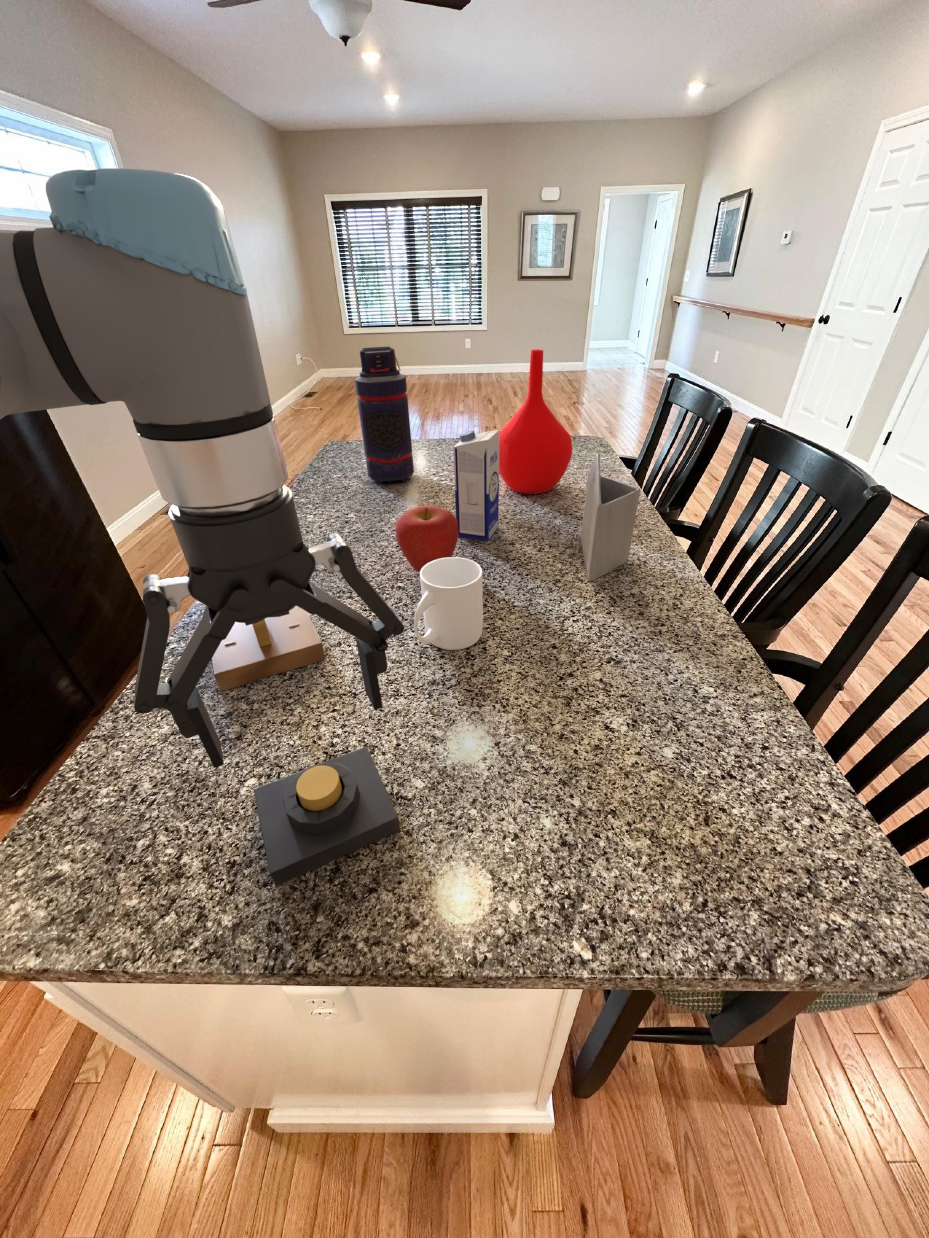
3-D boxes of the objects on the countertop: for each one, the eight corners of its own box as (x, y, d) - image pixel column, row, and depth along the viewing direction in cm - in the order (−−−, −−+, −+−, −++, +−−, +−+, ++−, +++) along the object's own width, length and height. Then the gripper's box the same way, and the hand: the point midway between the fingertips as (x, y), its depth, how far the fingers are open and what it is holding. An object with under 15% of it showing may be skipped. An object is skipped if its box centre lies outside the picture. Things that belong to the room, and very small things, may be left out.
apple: (400, 558, 97) (393, 497, 90) (457, 554, 97) (454, 493, 90) (400, 589, 88) (392, 524, 81) (462, 584, 88) (460, 519, 81)
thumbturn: (271, 644, 71) (256, 593, 66) (259, 647, 70) (243, 596, 66) (265, 621, 75) (250, 573, 71) (254, 624, 75) (238, 575, 70)
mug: (396, 647, 74) (388, 584, 68) (452, 611, 82) (449, 551, 75) (439, 672, 70) (434, 606, 63) (494, 631, 77) (495, 569, 71)
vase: (571, 476, 130) (583, 344, 113) (566, 503, 116) (579, 357, 99) (500, 472, 134) (501, 344, 117) (486, 498, 120) (486, 356, 103)
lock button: (304, 818, 48) (300, 806, 47) (296, 786, 51) (292, 774, 50) (346, 801, 49) (343, 789, 48) (335, 770, 52) (332, 759, 51)
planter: (635, 582, 87) (657, 470, 76) (588, 581, 88) (602, 470, 77) (621, 540, 100) (637, 439, 89) (580, 539, 101) (591, 439, 90)
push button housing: (275, 886, 46) (264, 862, 44) (259, 801, 54) (248, 777, 51) (400, 830, 50) (396, 805, 48) (369, 758, 58) (364, 734, 55)
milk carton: (488, 541, 101) (487, 438, 90) (456, 537, 103) (452, 435, 92) (498, 527, 107) (499, 428, 95) (468, 523, 109) (465, 425, 97)
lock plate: (220, 691, 68) (213, 673, 66) (213, 643, 76) (206, 625, 75) (325, 659, 73) (321, 641, 71) (307, 617, 81) (303, 600, 80)
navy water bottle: (416, 483, 129) (405, 350, 112) (369, 488, 128) (350, 353, 111) (411, 466, 140) (400, 342, 123) (367, 470, 139) (350, 345, 122)
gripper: (392, 447, 40) (415, 658, 52) (5, 512, 31) (141, 748, 43) (431, 475, 34) (447, 704, 47) (-27, 564, 25) (140, 819, 38)
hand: (300, 726), depth 45 cm, fingers open, 13 cm apart
